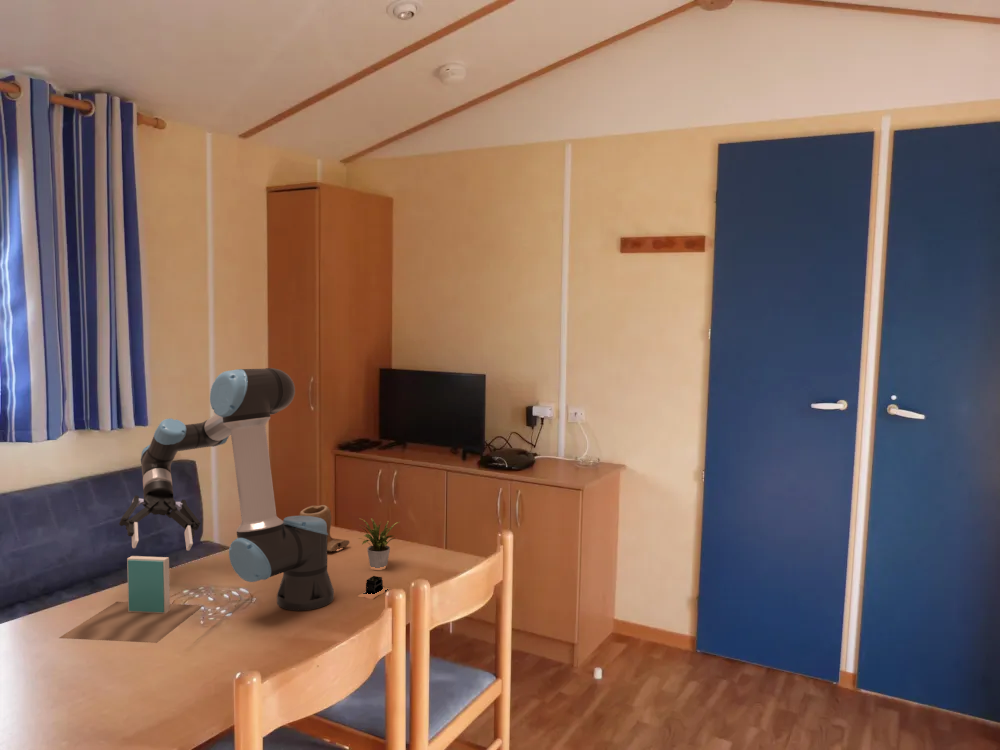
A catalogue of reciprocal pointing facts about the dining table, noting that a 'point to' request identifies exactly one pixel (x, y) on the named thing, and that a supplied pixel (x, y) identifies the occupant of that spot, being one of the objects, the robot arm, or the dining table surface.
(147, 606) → the tile
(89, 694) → the dining table surface
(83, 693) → the dining table surface
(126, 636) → the board
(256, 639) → the dining table surface
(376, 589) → the black small block
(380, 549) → the house plant
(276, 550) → the robot arm
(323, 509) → the tan ankle boot
